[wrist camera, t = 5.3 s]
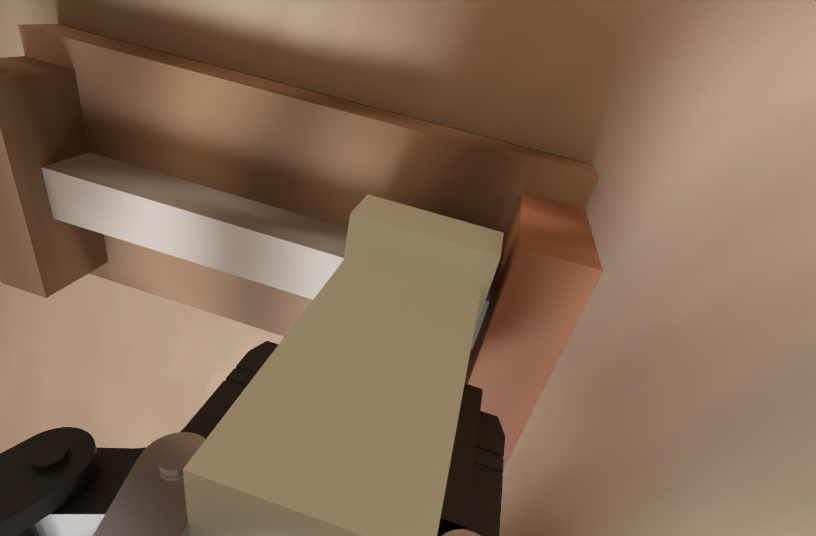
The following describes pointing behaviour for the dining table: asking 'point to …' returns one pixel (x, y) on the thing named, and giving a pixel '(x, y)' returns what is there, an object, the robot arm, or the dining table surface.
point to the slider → (355, 391)
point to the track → (270, 197)
